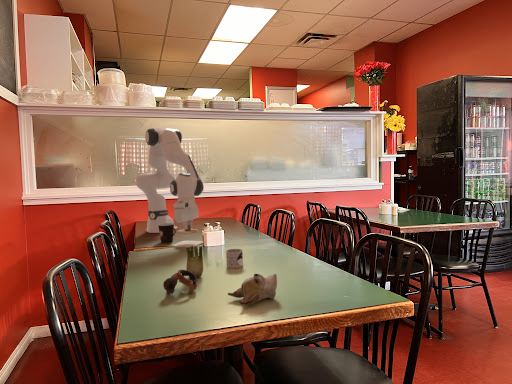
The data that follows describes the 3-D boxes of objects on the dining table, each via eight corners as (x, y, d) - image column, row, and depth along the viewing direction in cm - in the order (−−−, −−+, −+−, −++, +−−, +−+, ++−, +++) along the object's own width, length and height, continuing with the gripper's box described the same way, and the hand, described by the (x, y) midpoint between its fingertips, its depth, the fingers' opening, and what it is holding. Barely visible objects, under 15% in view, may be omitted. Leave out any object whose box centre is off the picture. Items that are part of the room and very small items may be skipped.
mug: (240, 268, 147) (240, 252, 147) (224, 268, 148) (224, 252, 148) (246, 262, 157) (245, 247, 156) (231, 262, 158) (230, 246, 158)
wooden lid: (184, 229, 204) (183, 223, 204) (201, 230, 200) (200, 224, 200) (174, 233, 194) (174, 226, 194) (191, 233, 191) (191, 227, 190)
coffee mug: (157, 241, 208) (156, 224, 208) (172, 239, 212) (172, 222, 211) (161, 245, 198) (160, 226, 197) (177, 243, 201) (176, 225, 201)
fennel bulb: (204, 276, 139) (203, 244, 138) (198, 279, 134) (197, 247, 133) (191, 274, 141) (190, 244, 140) (184, 278, 136) (183, 246, 135)
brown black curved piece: (177, 287, 128) (188, 267, 128) (194, 303, 123) (205, 283, 123) (151, 288, 118) (163, 266, 117) (169, 306, 113) (181, 284, 112)
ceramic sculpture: (284, 272, 109) (238, 284, 103) (286, 301, 110) (241, 313, 104) (267, 265, 119) (224, 275, 113) (270, 291, 120) (227, 302, 113)
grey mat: (183, 241, 206) (183, 240, 206) (204, 242, 202) (204, 241, 202) (171, 246, 194) (171, 245, 194) (193, 247, 190) (193, 246, 190)
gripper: (190, 201, 207) (191, 225, 208) (171, 205, 188) (172, 231, 189) (200, 201, 205) (201, 225, 206) (182, 205, 186) (183, 232, 187)
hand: (187, 228), depth 197 cm, fingers closed on wooden lid, 3 cm apart
